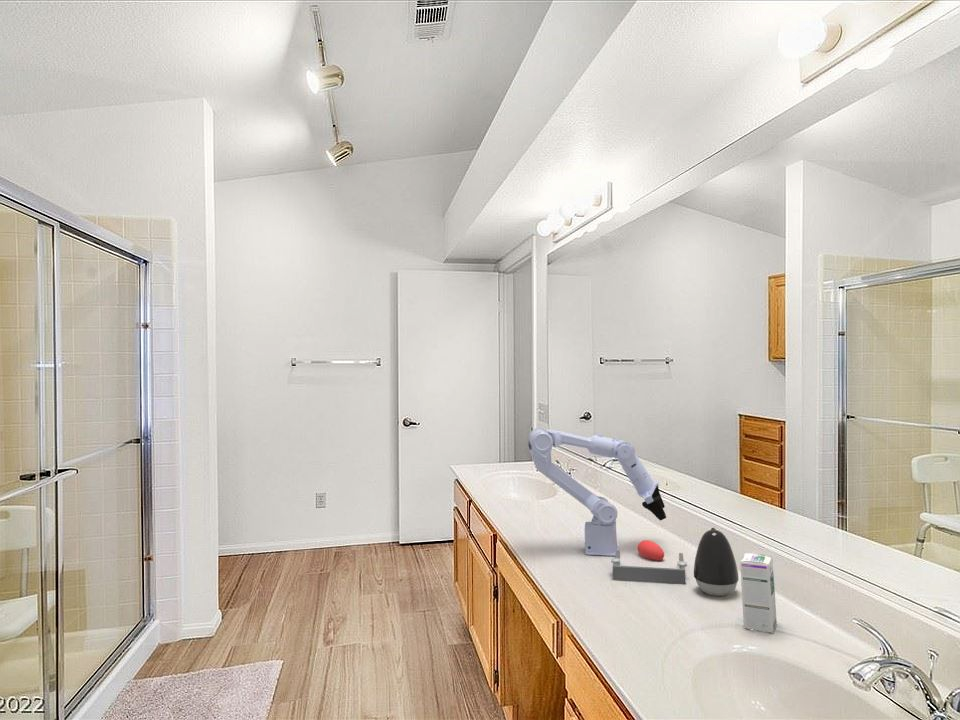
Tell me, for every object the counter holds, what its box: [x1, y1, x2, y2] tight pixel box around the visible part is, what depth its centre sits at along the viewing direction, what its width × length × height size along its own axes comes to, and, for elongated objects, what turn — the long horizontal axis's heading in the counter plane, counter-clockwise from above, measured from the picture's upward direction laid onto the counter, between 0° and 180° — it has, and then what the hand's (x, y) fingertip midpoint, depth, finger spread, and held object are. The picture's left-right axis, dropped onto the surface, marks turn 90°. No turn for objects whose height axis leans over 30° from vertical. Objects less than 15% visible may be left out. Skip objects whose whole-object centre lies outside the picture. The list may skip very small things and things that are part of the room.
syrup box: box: [739, 552, 778, 634], centre depth 128 cm, size 6×6×14 cm
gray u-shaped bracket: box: [610, 549, 688, 585], centre depth 162 cm, size 19×14×4 cm
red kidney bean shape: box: [637, 539, 665, 562], centre depth 174 cm, size 5×9×6 cm, turn 12°
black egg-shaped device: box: [693, 527, 739, 597], centre depth 147 cm, size 10×10×15 cm
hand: (662, 513), depth 182 cm, fingers open, 7 cm apart
